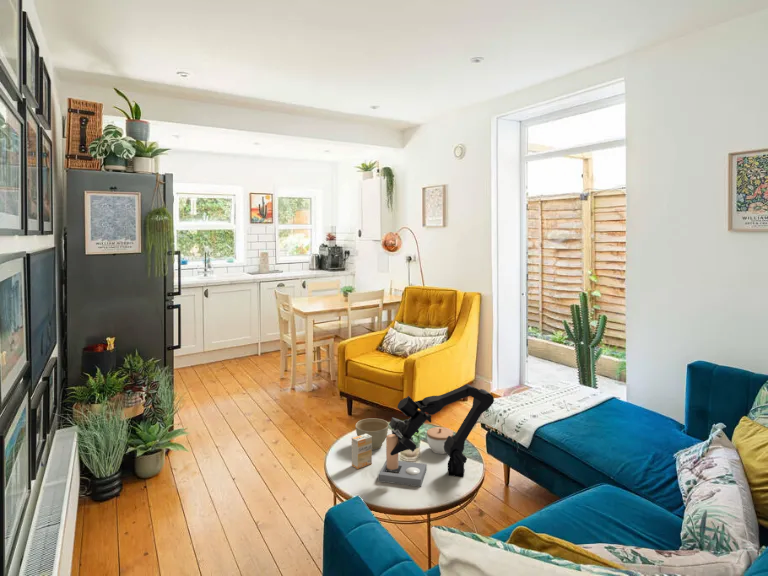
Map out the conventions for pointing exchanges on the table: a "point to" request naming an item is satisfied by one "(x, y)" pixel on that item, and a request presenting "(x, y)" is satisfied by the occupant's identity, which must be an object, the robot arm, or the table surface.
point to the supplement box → (361, 451)
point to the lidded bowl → (438, 438)
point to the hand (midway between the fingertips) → (389, 451)
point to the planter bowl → (373, 430)
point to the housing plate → (404, 473)
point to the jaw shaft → (390, 444)
